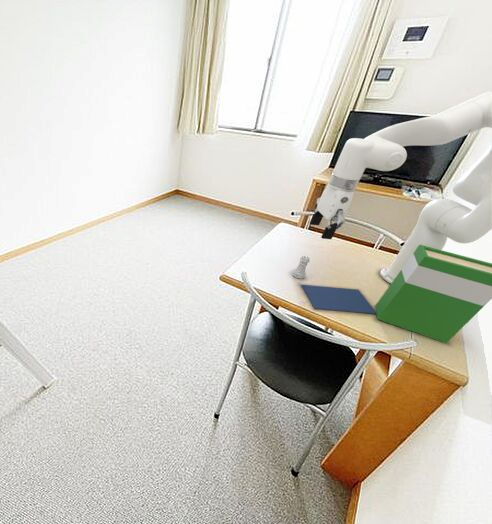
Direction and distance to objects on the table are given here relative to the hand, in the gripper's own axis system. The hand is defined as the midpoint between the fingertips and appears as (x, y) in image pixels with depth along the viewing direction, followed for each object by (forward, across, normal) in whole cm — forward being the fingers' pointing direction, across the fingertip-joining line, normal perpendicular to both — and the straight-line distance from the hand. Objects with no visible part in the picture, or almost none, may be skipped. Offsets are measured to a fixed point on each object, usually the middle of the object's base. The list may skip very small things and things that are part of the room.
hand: (319, 231), depth 102 cm
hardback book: (+18, -21, -27) cm, 39 cm away
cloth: (+19, -12, -9) cm, 24 cm away
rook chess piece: (+19, 0, 0) cm, 19 cm away
